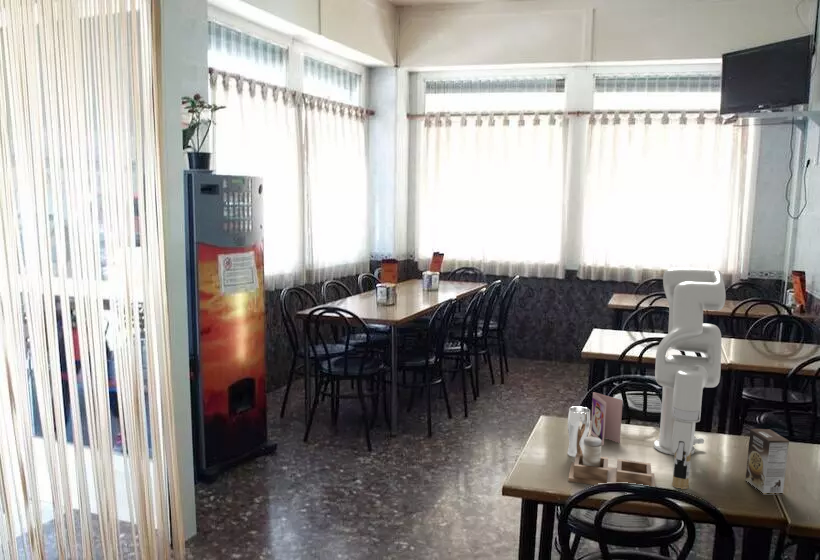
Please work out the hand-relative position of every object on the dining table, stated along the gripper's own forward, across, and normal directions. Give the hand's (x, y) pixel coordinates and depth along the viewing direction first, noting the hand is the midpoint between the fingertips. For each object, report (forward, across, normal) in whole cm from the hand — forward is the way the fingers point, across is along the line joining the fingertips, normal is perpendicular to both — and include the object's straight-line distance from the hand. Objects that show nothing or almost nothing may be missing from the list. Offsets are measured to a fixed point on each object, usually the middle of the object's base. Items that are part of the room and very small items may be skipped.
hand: (681, 473), depth 193 cm
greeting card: (+4, -25, -28) cm, 38 cm away
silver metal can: (+4, -7, -32) cm, 33 cm away
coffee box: (+4, -12, +21) cm, 25 cm away
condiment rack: (+4, +6, -18) cm, 19 cm away
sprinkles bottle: (+4, 0, 0) cm, 4 cm away
